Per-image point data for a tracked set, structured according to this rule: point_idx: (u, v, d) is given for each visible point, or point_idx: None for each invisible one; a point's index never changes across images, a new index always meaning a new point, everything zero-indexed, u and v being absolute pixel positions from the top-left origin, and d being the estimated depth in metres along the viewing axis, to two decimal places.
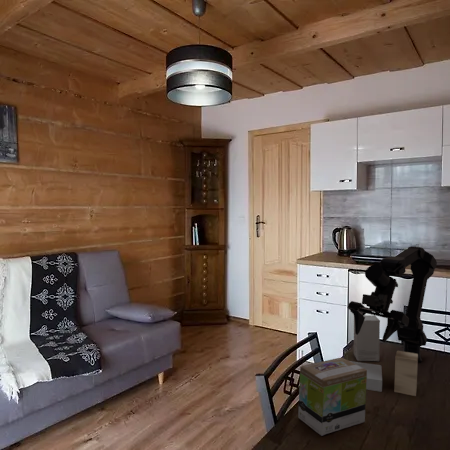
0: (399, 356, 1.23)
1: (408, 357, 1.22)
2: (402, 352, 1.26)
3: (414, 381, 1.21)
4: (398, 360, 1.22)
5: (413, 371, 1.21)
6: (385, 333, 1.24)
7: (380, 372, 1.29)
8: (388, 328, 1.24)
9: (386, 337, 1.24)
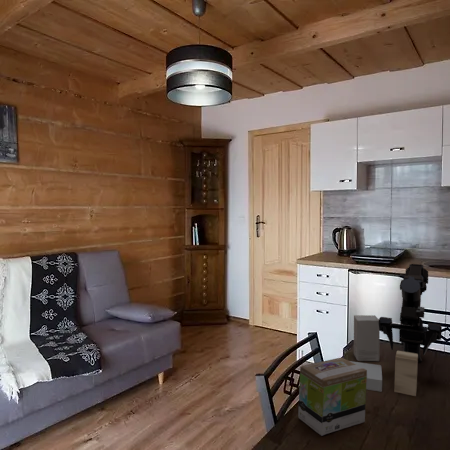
0: (399, 356, 1.23)
1: (408, 358, 1.22)
2: (402, 352, 1.26)
3: (414, 381, 1.21)
4: (398, 360, 1.22)
5: (413, 371, 1.21)
6: (425, 345, 1.26)
7: (380, 372, 1.29)
8: (427, 340, 1.26)
9: (426, 350, 1.26)
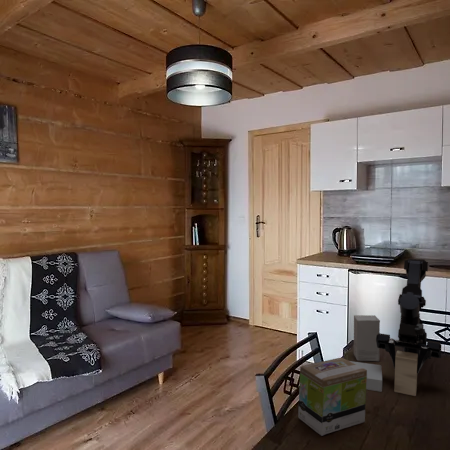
0: (399, 356, 1.23)
1: (408, 357, 1.22)
2: (402, 352, 1.26)
3: (414, 381, 1.21)
4: (398, 359, 1.22)
5: (413, 371, 1.21)
6: (419, 363, 1.22)
7: (380, 372, 1.29)
8: (421, 358, 1.23)
9: (419, 368, 1.22)
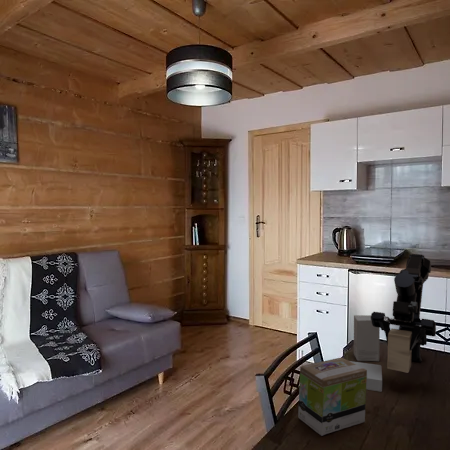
0: (392, 333, 1.23)
1: (401, 334, 1.22)
2: (396, 330, 1.26)
3: (406, 358, 1.21)
4: (390, 336, 1.23)
5: (406, 347, 1.21)
6: (412, 341, 1.22)
7: (380, 372, 1.29)
8: (415, 336, 1.23)
9: (413, 345, 1.22)
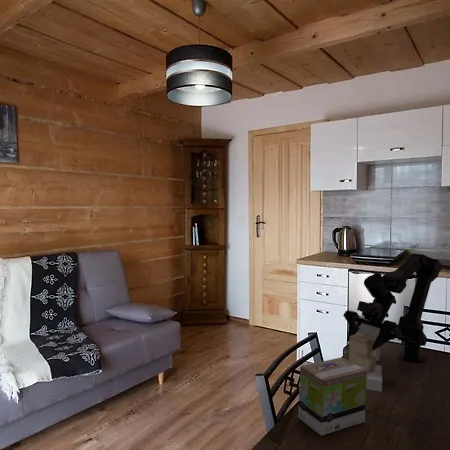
0: (354, 336, 1.31)
1: (361, 338, 1.29)
2: (362, 334, 1.33)
3: (363, 361, 1.27)
4: (351, 339, 1.30)
5: (363, 351, 1.27)
6: (376, 341, 1.26)
7: (380, 372, 1.29)
8: (379, 337, 1.26)
9: (376, 345, 1.26)
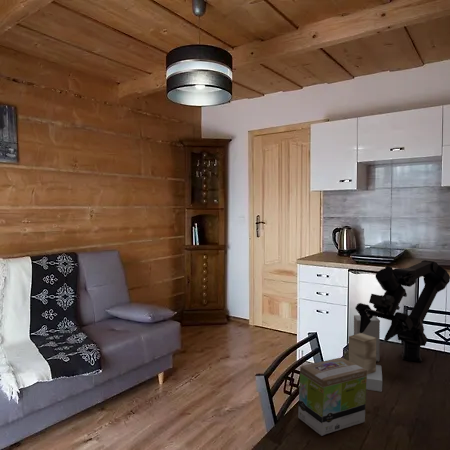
0: (353, 336, 1.30)
1: (360, 338, 1.28)
2: (362, 334, 1.32)
3: (362, 361, 1.27)
4: (350, 339, 1.30)
5: (361, 351, 1.27)
6: (388, 332, 1.30)
7: (380, 372, 1.29)
8: (391, 328, 1.30)
9: (388, 337, 1.30)
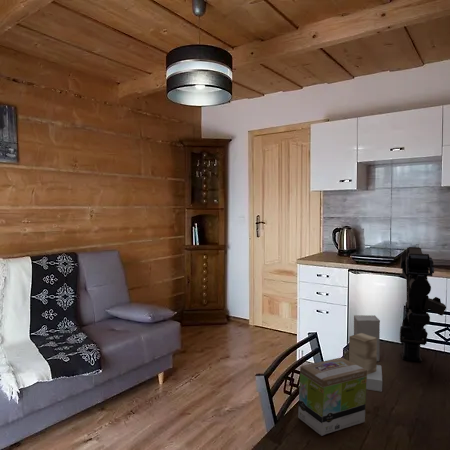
0: (354, 336, 1.30)
1: (360, 338, 1.28)
2: (363, 334, 1.32)
3: (363, 361, 1.27)
4: (351, 339, 1.30)
5: (362, 351, 1.27)
6: None
7: (380, 372, 1.29)
8: None
9: None
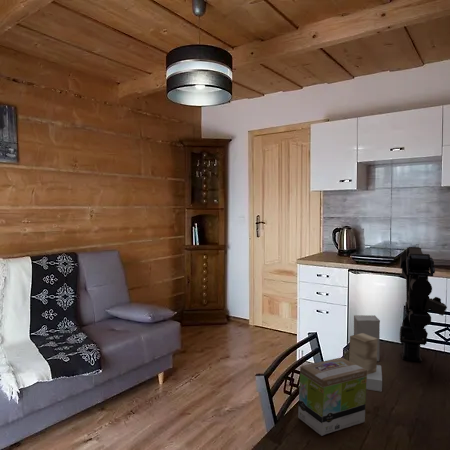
0: (354, 336, 1.30)
1: (361, 338, 1.28)
2: (364, 335, 1.32)
3: (362, 361, 1.27)
4: (351, 339, 1.30)
5: (362, 351, 1.27)
6: None
7: (380, 372, 1.29)
8: None
9: None
